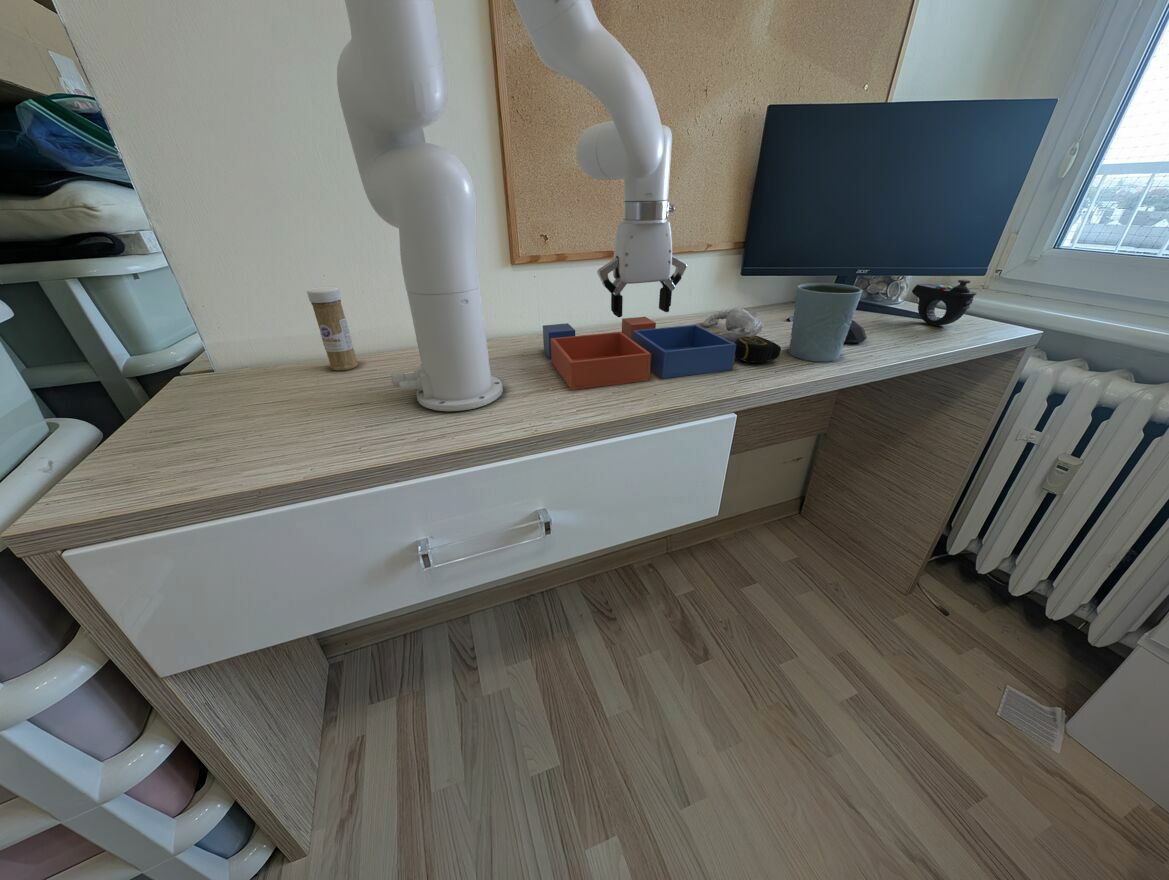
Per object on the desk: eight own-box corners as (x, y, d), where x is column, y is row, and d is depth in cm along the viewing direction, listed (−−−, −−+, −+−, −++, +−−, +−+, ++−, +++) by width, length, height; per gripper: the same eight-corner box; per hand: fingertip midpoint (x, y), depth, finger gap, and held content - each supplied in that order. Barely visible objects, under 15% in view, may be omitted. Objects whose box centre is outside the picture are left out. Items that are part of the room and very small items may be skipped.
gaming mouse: (818, 324, 99) (822, 306, 97) (872, 343, 87) (879, 323, 85) (794, 327, 97) (799, 308, 95) (847, 346, 85) (853, 326, 83)
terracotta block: (630, 350, 84) (631, 324, 81) (621, 343, 88) (622, 318, 85) (654, 348, 85) (656, 322, 83) (643, 341, 89) (645, 316, 87)
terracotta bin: (571, 390, 67) (570, 362, 65) (551, 362, 78) (550, 338, 76) (649, 380, 70) (651, 353, 68) (620, 355, 81) (620, 331, 79)
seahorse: (682, 320, 99) (736, 330, 81) (724, 298, 100) (786, 303, 82) (688, 341, 101) (741, 355, 83) (729, 319, 103) (791, 329, 85)
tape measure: (780, 364, 77) (784, 343, 75) (747, 368, 75) (751, 347, 73) (755, 352, 82) (759, 332, 81) (724, 356, 81) (727, 336, 79)
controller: (950, 331, 93) (970, 283, 88) (899, 318, 104) (914, 273, 99) (965, 329, 95) (986, 281, 90) (913, 316, 105) (929, 272, 100)
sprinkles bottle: (326, 371, 75) (300, 291, 68) (338, 362, 79) (314, 285, 72) (352, 371, 75) (329, 290, 68) (363, 362, 79) (342, 285, 72)
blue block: (549, 359, 80) (548, 332, 77) (543, 351, 84) (542, 325, 81) (575, 356, 81) (575, 330, 79) (568, 348, 85) (568, 323, 83)
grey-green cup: (846, 365, 76) (868, 294, 70) (784, 359, 79) (800, 291, 73) (837, 348, 84) (856, 283, 78) (781, 343, 87) (795, 280, 81)
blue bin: (662, 378, 71) (664, 352, 69) (631, 354, 82) (632, 330, 80) (732, 369, 74) (736, 344, 72) (693, 347, 85) (696, 324, 83)
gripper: (680, 210, 80) (672, 304, 89) (590, 214, 76) (592, 312, 85) (700, 212, 74) (690, 313, 83) (605, 216, 70) (605, 322, 78)
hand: (640, 313), depth 84 cm, fingers open, 9 cm apart
